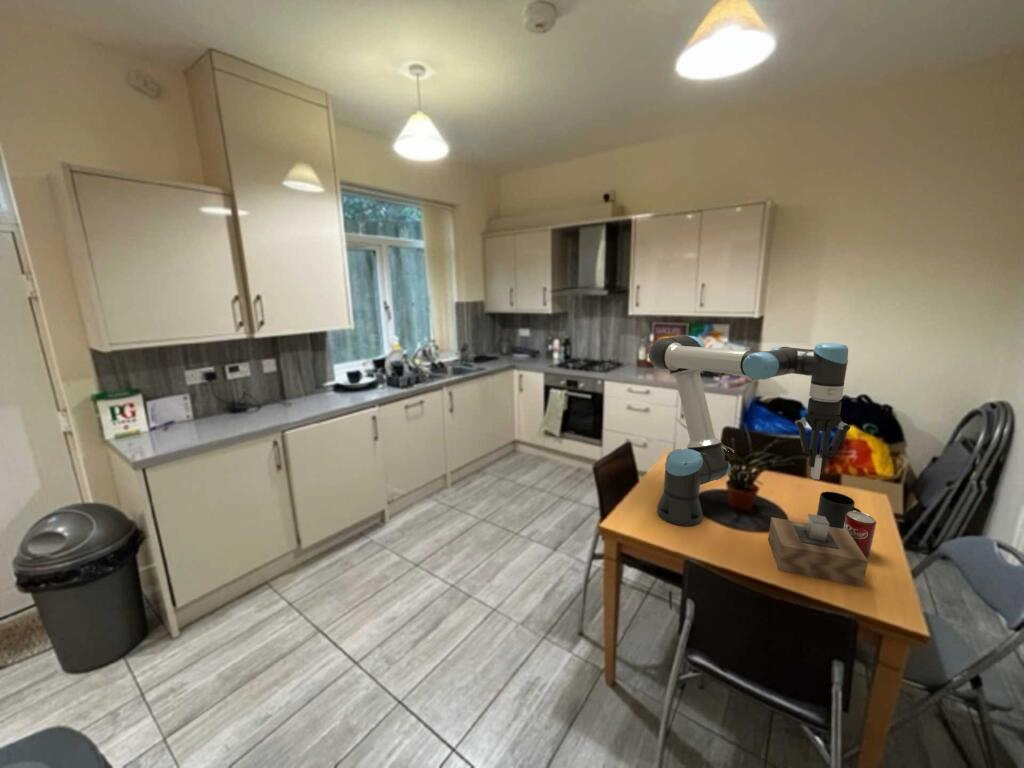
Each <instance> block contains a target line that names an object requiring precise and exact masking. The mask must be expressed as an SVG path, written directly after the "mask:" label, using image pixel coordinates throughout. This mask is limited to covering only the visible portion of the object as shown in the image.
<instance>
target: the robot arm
mask: <svg viewBox="0 0 1024 768" xmlns="http://www.w3.org/2000/svg"><path fill="white" fill-rule="evenodd" d="M648 359H649V361H650V363H651V365H653V367H655V369H659V370H664V371H665V370H667V371H668V370H669V374H670V376H671V377H673V378H674V379H675V380H676V385H677V391H678V394H679V398H680V402H681V407H682V412H683V415H684V420H685V425H686V428H687V432H688V433H687V434H688V436H689V437H688V438H689V442H688V443H687V446H686V447H687V448H683V449H682V448H678V449H677V448H676V449H674V450H672V451H670V452H669V453H668V454H667V456H666V460H665V464H664V467H665V469H664V483H663V492H662V494H661V496H660V499H659V501H658V503H657V505H656V513H657V515H658V516H659V518H661V519H662V520H664V521H665V522H667V523H670V524H673V525H676V526H679V527H680V526H682V527H691V526H692V527H693V526H697V525H698V524H701V522H702V520H703V511H702V506H701V502H700V498H699V497H700V489H701V488H700V487H701V486H702V485H705V484H708V483H711V482H713V481H718V480H720V479H723V478H724V477H726V476H727V475H729V473H730V472H731V470H730V464H729V462H727V461H726V460H725V451H724V449H725V450H726V448H725V447H723V446H724V445H722V441H721V440H720V439H718V437H717V438H716V435H715V431H714V428H713V422H712V419H711V415H710V411H709V407H708V403H707V397H706V393H705V390H704V384H703V381H702V377H701V372H702V371H703V372H712V373H721V374H729V375H739V376H747V377H748V378H750V379H752V380H756V381H757V380H768V379H771V378H776V377H780V376H786V375H791V374H793V375H800V376H801V375H802V376H807V377H808V376H809V377H810V385H809V386H810V388H809V393H808V395H809V398H808V402H807V409H806V414H805V415H804V417H803V418H801V419H795V421H794V424H795V426H797V428H798V433H799V441H800V445H801V446H800V447H801V450H802V452H803V453H804V454H805V455H807V456H808V462H807V464H808V466H809V467H810V469H811V470H810V477H811V478H812V479H813V480H820V477H821V470H822V469H825V468H826V464H827V463H826V462H827V460H828V458H829V457H832V458H833V457H835V456H836V453H837V452H838V449H839V448H840V445H841V444H842V441H843V439H844V436H845V435H846V433H847V432H849V430H850V429H851V426H850V425H849V424H847V422H843V420H842V418H841V412H842V411H841V409H842V399H843V396H844V388H845V380H846V374H847V369H848V368H847V367H848V363H849V347H848V345H846V344H843V343H835V342H833V343H832V342H831V343H830V342H821V343H817V344H815V346H814V348H813V349H809V348H808V349H807V348H798V347H789V346H785V345H784V346H774V347H772V348H771V349H769V350H767V351H766V350H750V349H747V350H746V349H734V348H719V347H718V348H717V347H706V346H705V344H704V343H703V341H702V340H701V339H700V338H698V337H696V336H693V335H678V336H671V337H662V338H660V339H656V340H655V341H654V342H653V343H652V344H651V346H650V348H649V349H648ZM806 423H807V424H808V426H809V427H810V428H811V434H810V441H809V444H808V437H807V431H806V428H805V427H806V426H807V424H806ZM836 427H837V428H836ZM834 429H836V431H835V434H834V435H833V438H832V440H831V439H830V437H831V433H832V431H833V430H834ZM820 435H821V439H820ZM819 439H820V440H821V441H820V447H819V454H818V453H817V452H818V446H819ZM830 440H831V442H830ZM726 451H727V450H726ZM728 452H729V451H728Z"/></svg>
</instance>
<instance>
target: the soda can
mask: <svg viewBox="0 0 1024 768" xmlns="http://www.w3.org/2000/svg"><path fill="white" fill-rule="evenodd" d="M876 526H877V521H876V520H875V518H874V517H873V516H871V515H870V514H867V513H864V512H862V511H861V512H857V511H854V510H853V511H850V512H848V513H846V515H845V520H844V526H843V529H847V530H848V532H849V533H850V535H851V536H852V538H853V539H854V541H855V542H856V544H857V545H858V547H859V548H860V550H861V551H862V553H863V554H864V556H865V557H866V558H868V557H870V555H871V550H872V545H873V540H874V536H875V532H876V531H875V530H876Z"/></svg>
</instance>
